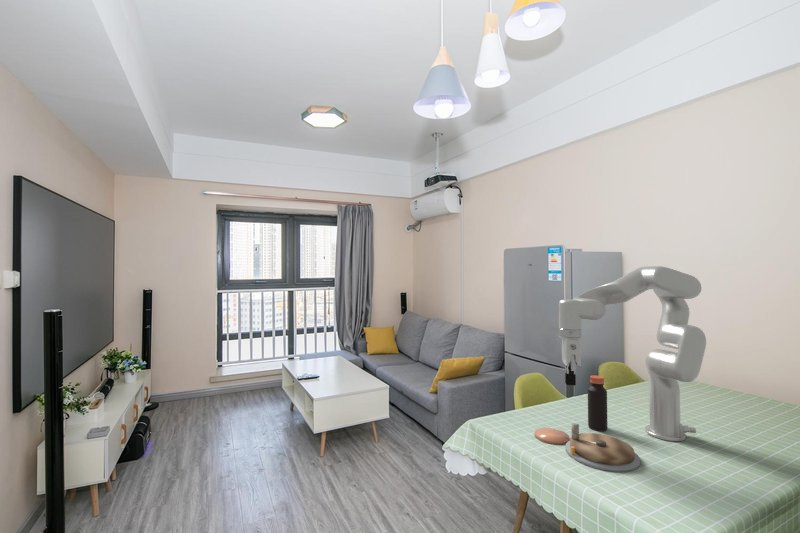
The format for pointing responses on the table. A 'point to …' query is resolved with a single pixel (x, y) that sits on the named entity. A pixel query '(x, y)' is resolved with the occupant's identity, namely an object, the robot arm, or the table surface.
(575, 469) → the table surface
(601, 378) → the vinegar
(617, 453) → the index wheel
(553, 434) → the peach dome
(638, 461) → the wheel base
